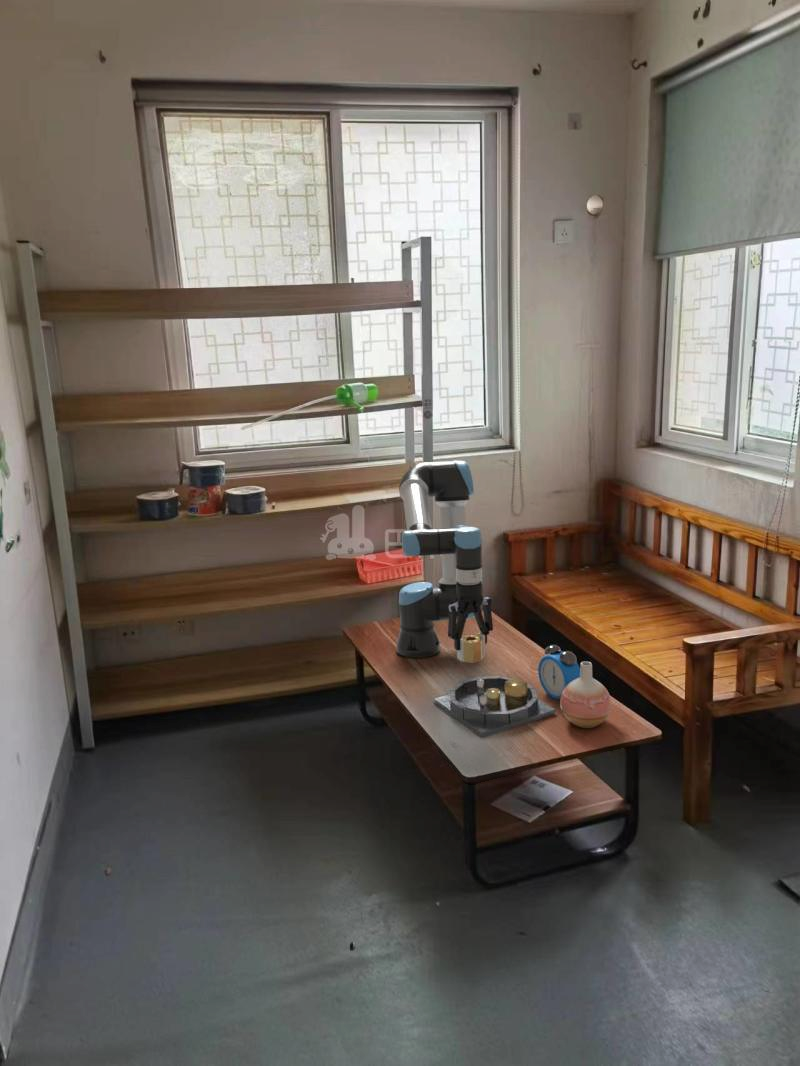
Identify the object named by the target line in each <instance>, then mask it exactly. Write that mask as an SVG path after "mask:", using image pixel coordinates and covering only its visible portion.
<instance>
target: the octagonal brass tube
mask: <svg viewBox="0 0 800 1066" xmlns="http://www.w3.org/2000/svg"><path fill="white" fill-rule="evenodd" d="M461 639H463V640H464V661H462V662H463V663H471V664H473V663H478V662H481V661H483V659H484V656H483V638H482V637H480V636H478V634H467V635H462V637H461Z"/></svg>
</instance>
